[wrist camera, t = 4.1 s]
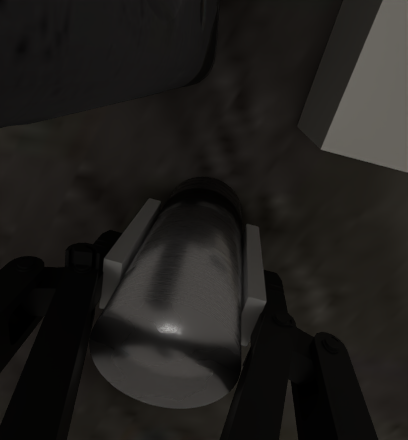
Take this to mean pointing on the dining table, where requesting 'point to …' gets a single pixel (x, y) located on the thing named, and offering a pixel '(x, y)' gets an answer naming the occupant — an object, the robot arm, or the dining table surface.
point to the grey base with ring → (363, 85)
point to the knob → (178, 304)
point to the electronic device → (99, 53)
